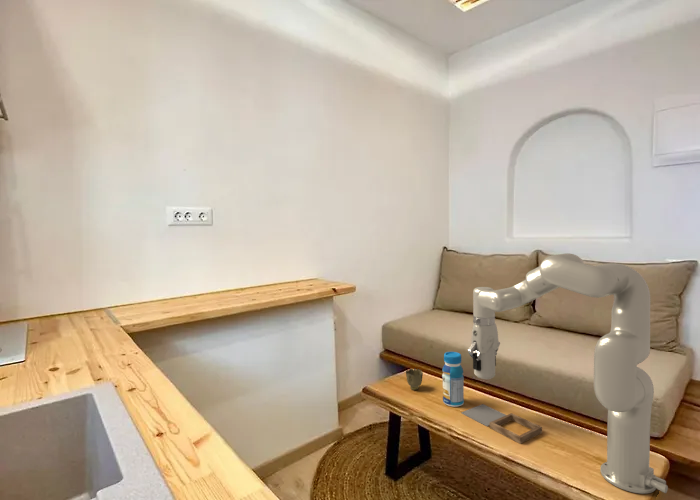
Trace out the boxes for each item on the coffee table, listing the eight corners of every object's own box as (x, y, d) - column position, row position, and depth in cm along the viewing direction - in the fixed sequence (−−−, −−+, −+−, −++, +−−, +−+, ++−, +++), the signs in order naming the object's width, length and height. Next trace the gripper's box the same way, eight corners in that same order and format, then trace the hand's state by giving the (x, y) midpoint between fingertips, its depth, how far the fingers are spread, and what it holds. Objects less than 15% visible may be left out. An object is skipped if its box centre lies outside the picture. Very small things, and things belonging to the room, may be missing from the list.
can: (496, 380, 140) (496, 348, 139) (475, 379, 141) (474, 347, 140) (493, 372, 147) (493, 341, 146) (473, 372, 148) (472, 341, 148)
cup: (403, 386, 173) (403, 368, 173) (419, 384, 174) (419, 367, 174) (409, 393, 166) (409, 375, 165) (425, 391, 167) (425, 373, 167)
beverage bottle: (460, 409, 150) (460, 358, 149) (439, 404, 155) (438, 355, 153) (466, 400, 157) (466, 352, 156) (446, 396, 162) (445, 349, 161)
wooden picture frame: (542, 432, 132) (542, 427, 132) (520, 443, 126) (520, 437, 126) (511, 418, 142) (511, 413, 142) (489, 427, 136) (489, 422, 136)
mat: (509, 417, 143) (509, 416, 143) (487, 426, 137) (487, 425, 137) (482, 404, 153) (482, 403, 153) (461, 413, 147) (461, 412, 147)
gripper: (476, 326, 135) (476, 375, 136) (508, 319, 144) (508, 365, 145) (459, 322, 142) (460, 369, 143) (491, 315, 151) (491, 359, 152)
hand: (484, 367), depth 144 cm, fingers closed on can, 7 cm apart
